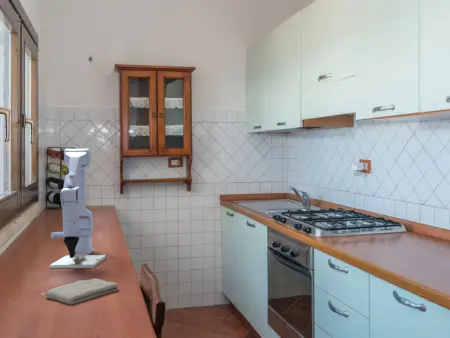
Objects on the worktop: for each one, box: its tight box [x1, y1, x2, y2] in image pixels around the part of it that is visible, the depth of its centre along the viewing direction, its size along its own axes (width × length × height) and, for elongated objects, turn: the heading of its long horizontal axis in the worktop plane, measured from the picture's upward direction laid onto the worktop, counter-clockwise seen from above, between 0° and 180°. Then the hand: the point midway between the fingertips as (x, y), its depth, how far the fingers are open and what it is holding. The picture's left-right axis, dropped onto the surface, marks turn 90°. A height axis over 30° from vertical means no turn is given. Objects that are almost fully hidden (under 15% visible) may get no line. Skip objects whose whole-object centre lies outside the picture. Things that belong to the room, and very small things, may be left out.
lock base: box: [49, 254, 107, 269], centre depth 175 cm, size 16×16×1 cm
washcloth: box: [45, 278, 119, 305], centre depth 136 cm, size 12×18×3 cm, turn 144°
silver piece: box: [72, 251, 86, 264], centre depth 173 cm, size 11×5×4 cm, turn 14°
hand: (72, 257), depth 169 cm, fingers closed
